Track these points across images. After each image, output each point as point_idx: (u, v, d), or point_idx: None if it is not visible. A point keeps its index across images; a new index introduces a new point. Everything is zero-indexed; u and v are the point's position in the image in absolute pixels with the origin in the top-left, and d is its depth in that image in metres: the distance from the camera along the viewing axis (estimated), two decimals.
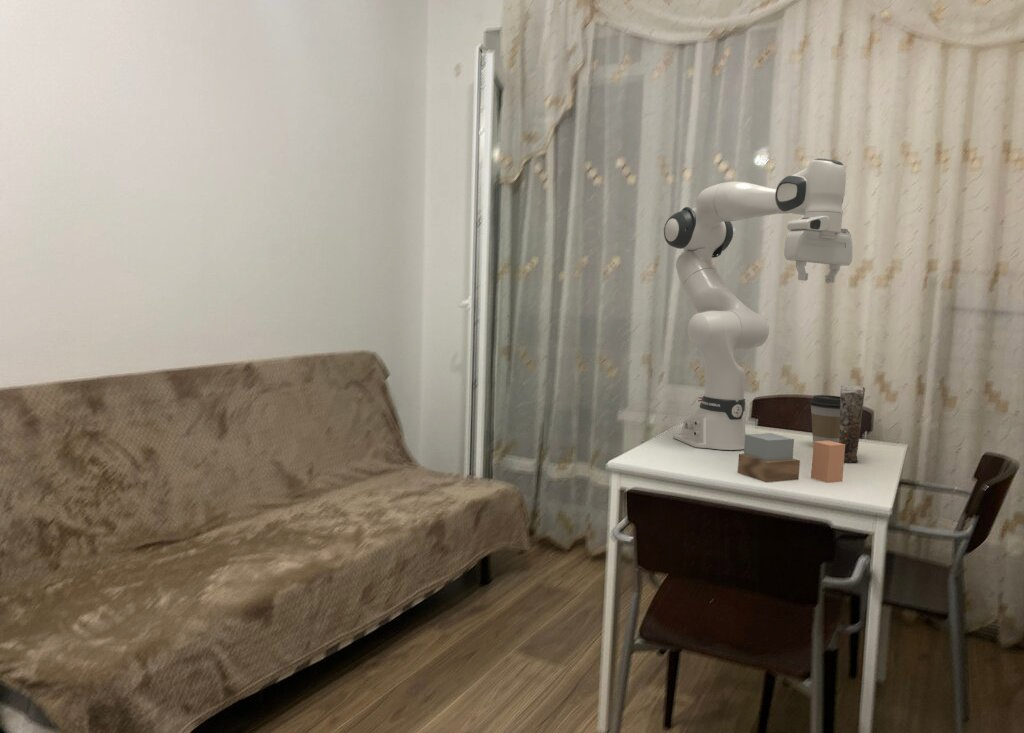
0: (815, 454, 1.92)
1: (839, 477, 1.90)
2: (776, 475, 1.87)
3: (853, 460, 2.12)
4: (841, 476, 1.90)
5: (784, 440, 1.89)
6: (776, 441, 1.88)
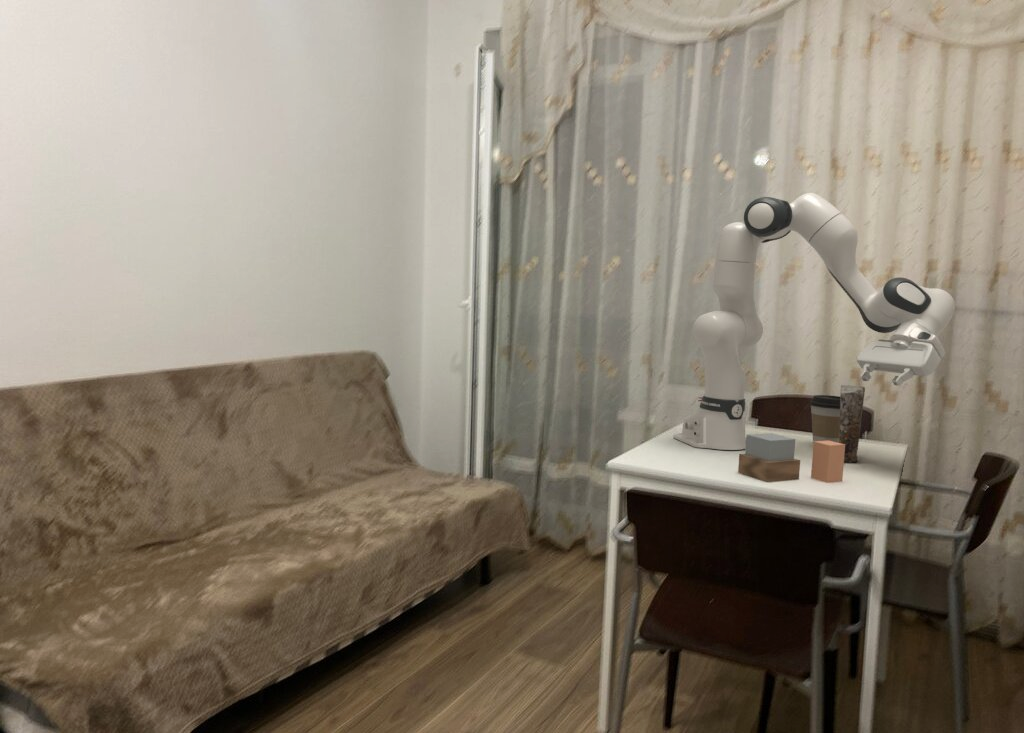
0: (815, 454, 1.92)
1: (839, 477, 1.90)
2: (776, 475, 1.87)
3: (853, 460, 2.12)
4: (841, 476, 1.90)
5: (786, 440, 1.89)
6: (778, 441, 1.88)
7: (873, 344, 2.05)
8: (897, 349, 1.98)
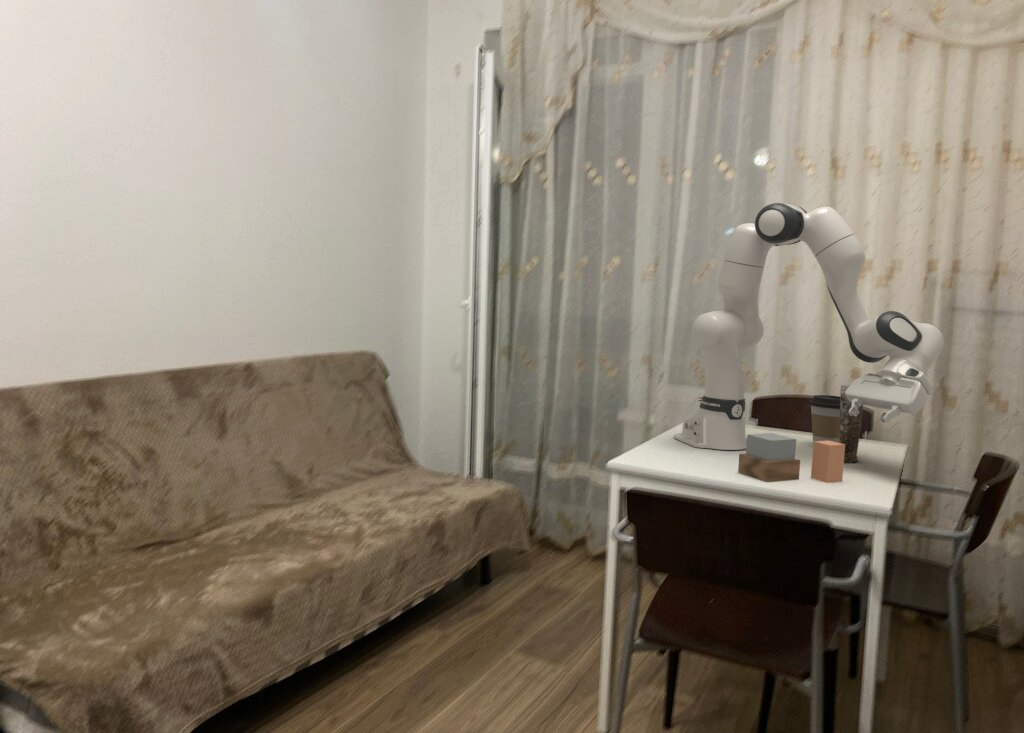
0: (815, 454, 1.92)
1: (839, 477, 1.90)
2: (776, 475, 1.88)
3: (853, 460, 2.12)
4: (841, 476, 1.90)
5: (786, 440, 1.89)
6: (779, 441, 1.88)
7: (861, 378, 2.04)
8: (885, 385, 1.97)
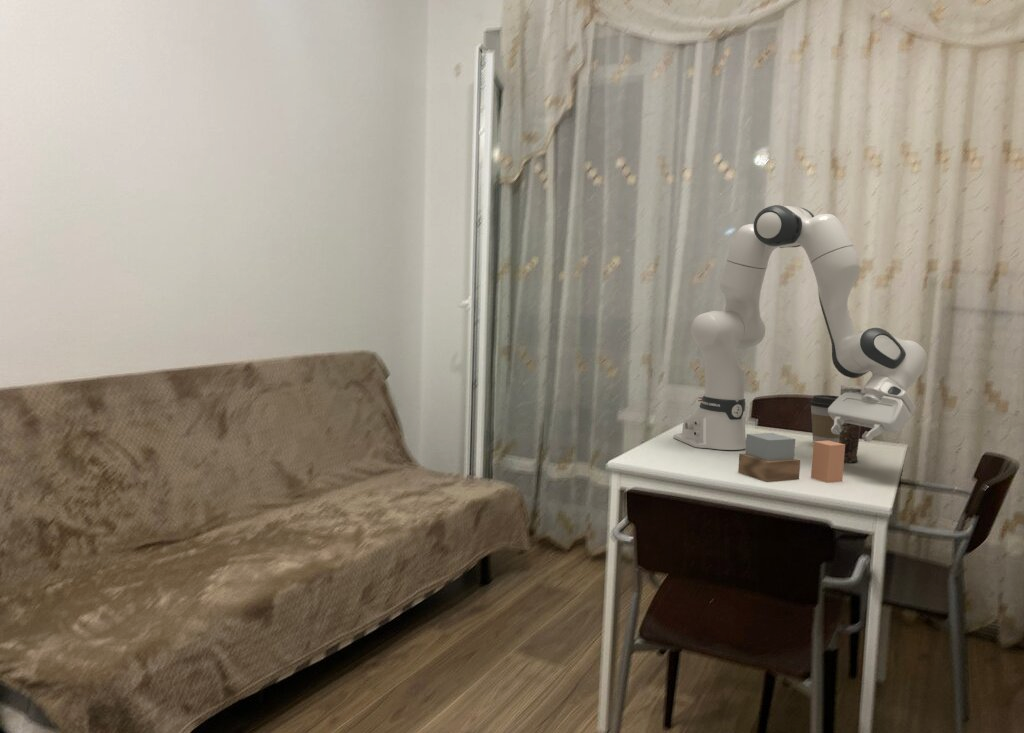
0: (815, 454, 1.92)
1: (839, 477, 1.90)
2: (776, 475, 1.88)
3: (853, 460, 2.12)
4: (841, 476, 1.90)
5: (785, 440, 1.89)
6: (777, 441, 1.88)
7: (844, 396, 2.02)
8: (868, 403, 1.95)
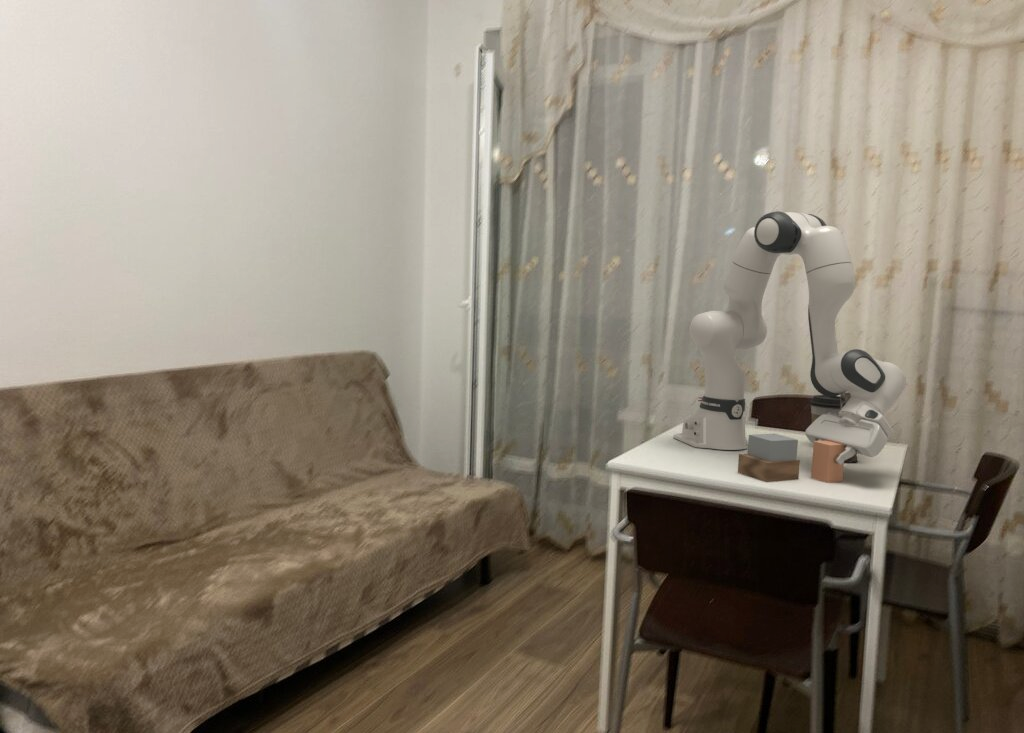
0: (815, 454, 1.92)
1: (839, 477, 1.90)
2: (776, 475, 1.88)
3: (853, 460, 2.12)
4: (841, 476, 1.90)
5: (788, 441, 1.89)
6: (779, 442, 1.88)
7: (822, 418, 2.00)
8: (845, 426, 1.93)
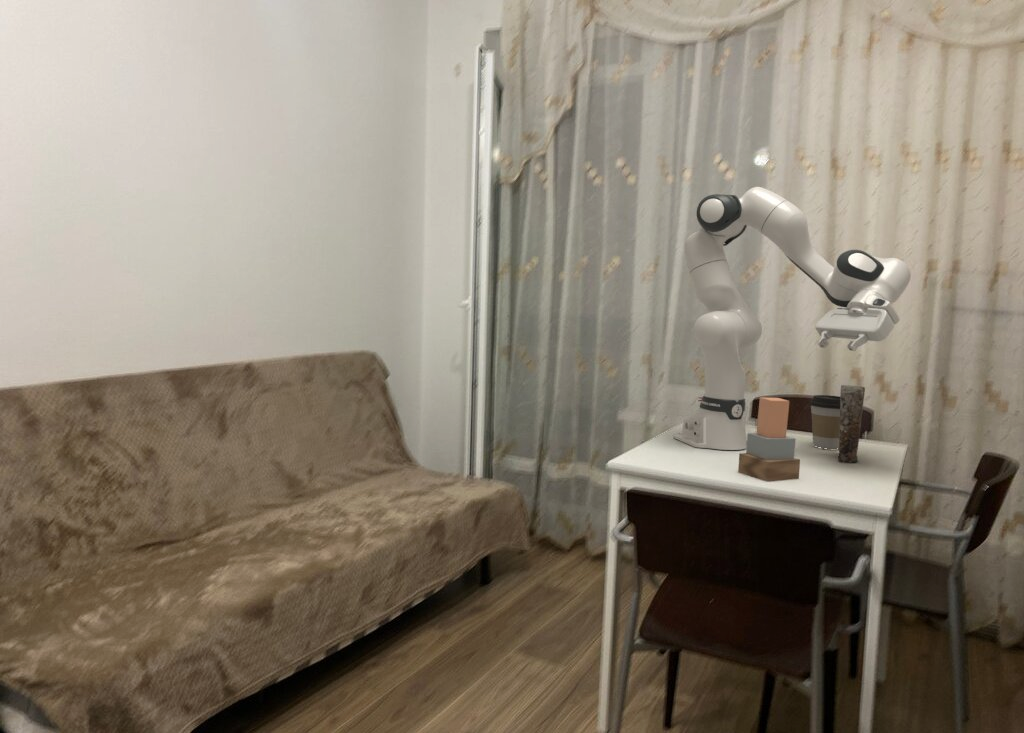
0: (760, 410, 1.93)
1: (782, 433, 1.91)
2: (777, 475, 1.88)
3: (853, 460, 2.12)
4: (785, 432, 1.91)
5: (785, 439, 1.90)
6: (776, 440, 1.89)
7: (831, 312, 2.10)
8: (853, 316, 2.03)
